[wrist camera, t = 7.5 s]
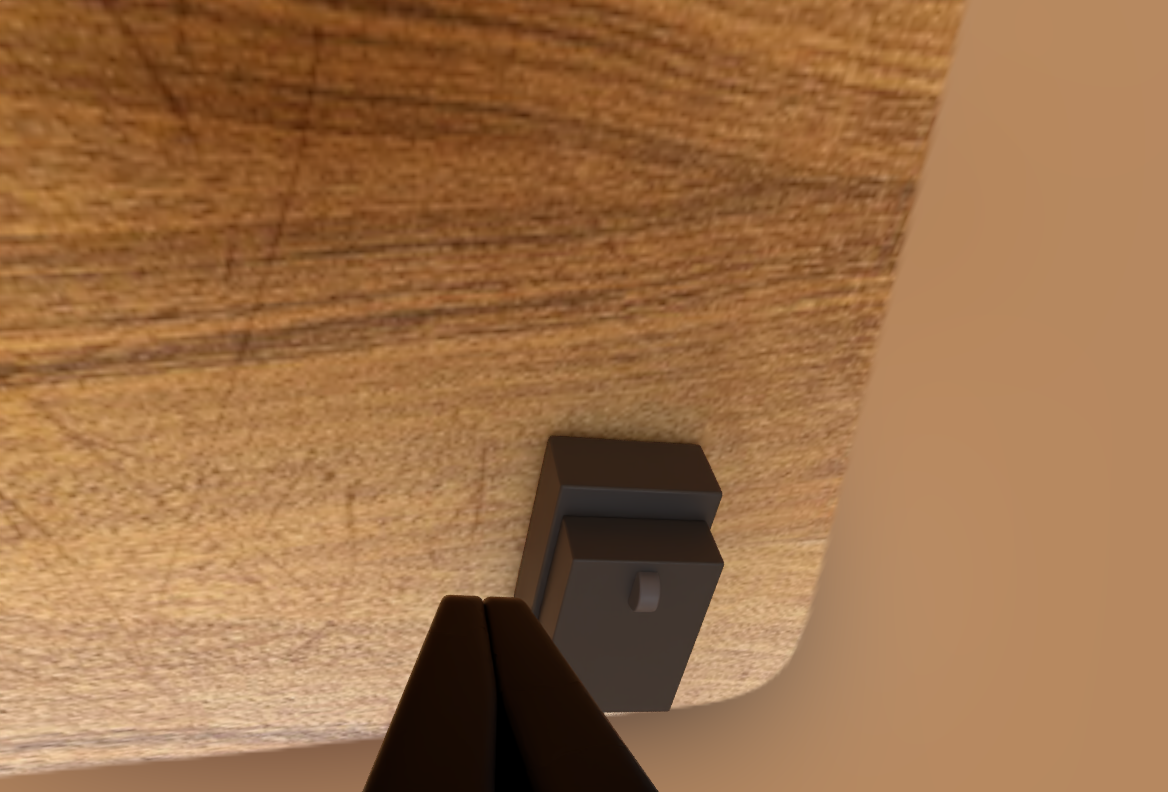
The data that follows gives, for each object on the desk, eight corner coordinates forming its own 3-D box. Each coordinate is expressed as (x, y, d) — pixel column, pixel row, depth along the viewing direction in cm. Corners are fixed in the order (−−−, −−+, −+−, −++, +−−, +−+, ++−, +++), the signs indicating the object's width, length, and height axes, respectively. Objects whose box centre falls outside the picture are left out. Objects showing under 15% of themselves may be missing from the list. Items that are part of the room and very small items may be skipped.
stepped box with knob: (700, 443, 23) (752, 553, 20) (642, 622, 27) (678, 741, 23) (548, 434, 22) (575, 547, 19) (507, 621, 26) (524, 745, 22)
